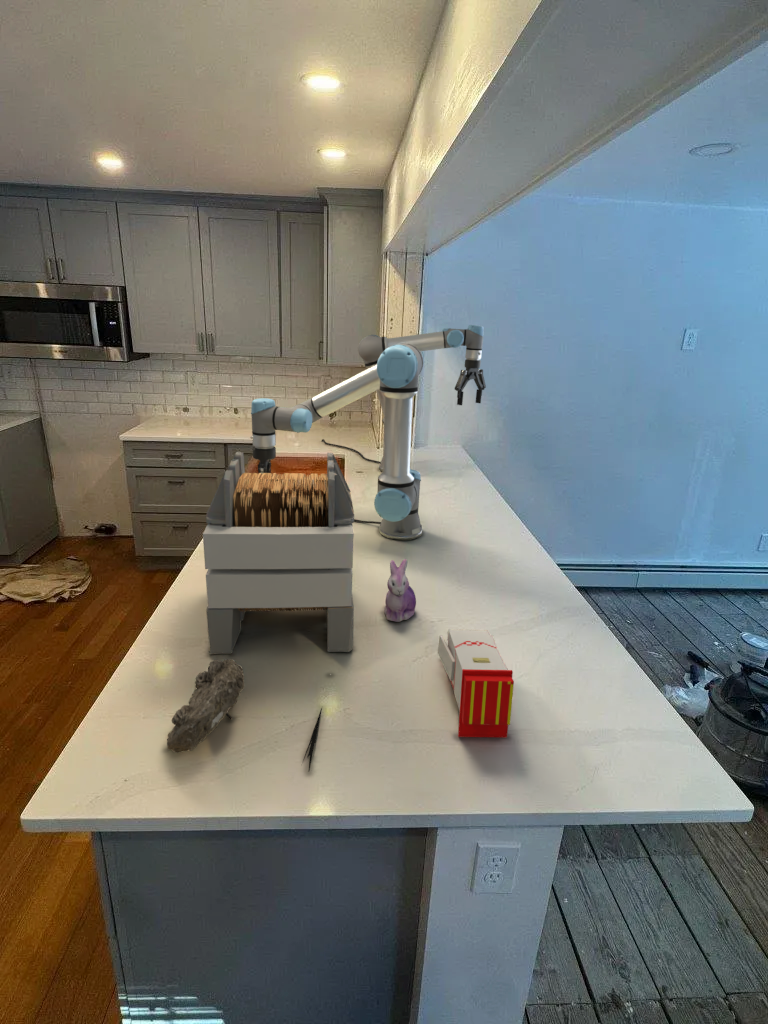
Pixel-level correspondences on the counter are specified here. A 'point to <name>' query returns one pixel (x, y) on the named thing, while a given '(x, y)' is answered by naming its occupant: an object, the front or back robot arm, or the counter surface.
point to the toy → (478, 682)
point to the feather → (313, 740)
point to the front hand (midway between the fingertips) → (265, 510)
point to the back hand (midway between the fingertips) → (468, 404)
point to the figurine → (399, 594)
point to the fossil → (206, 705)
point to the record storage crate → (279, 550)
